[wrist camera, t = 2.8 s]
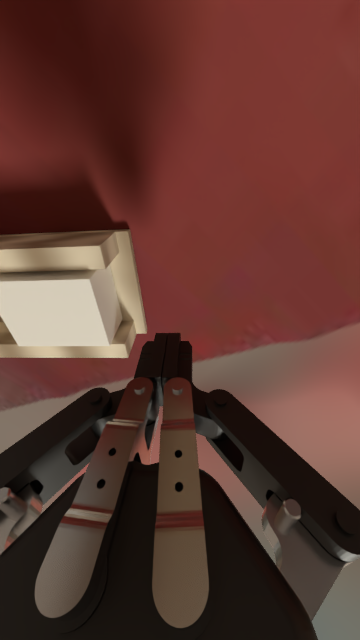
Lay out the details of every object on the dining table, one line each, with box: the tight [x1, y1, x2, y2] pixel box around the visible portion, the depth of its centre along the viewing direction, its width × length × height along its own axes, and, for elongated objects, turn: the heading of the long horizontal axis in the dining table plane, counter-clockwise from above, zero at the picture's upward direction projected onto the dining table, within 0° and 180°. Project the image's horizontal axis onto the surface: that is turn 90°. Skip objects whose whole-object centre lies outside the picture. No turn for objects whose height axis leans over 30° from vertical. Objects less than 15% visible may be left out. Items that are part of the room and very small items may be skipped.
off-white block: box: [0, 264, 123, 346], centre depth 19 cm, size 8×6×4 cm
